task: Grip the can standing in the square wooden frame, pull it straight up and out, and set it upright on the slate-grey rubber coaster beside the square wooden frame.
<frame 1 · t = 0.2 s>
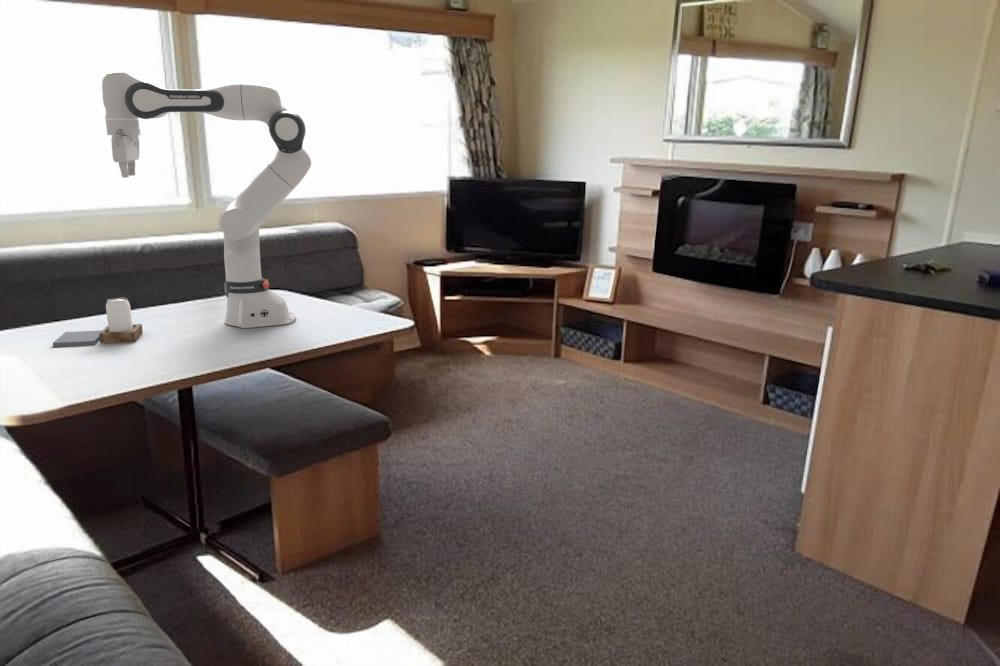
hand: (128, 176, 224), 47 cm above the table, fingers open, 8 cm apart
coaster: (80, 340, 220), on the table
square wooden frame: (122, 338, 223), on the table
can: (122, 338, 223), resting in square wooden frame
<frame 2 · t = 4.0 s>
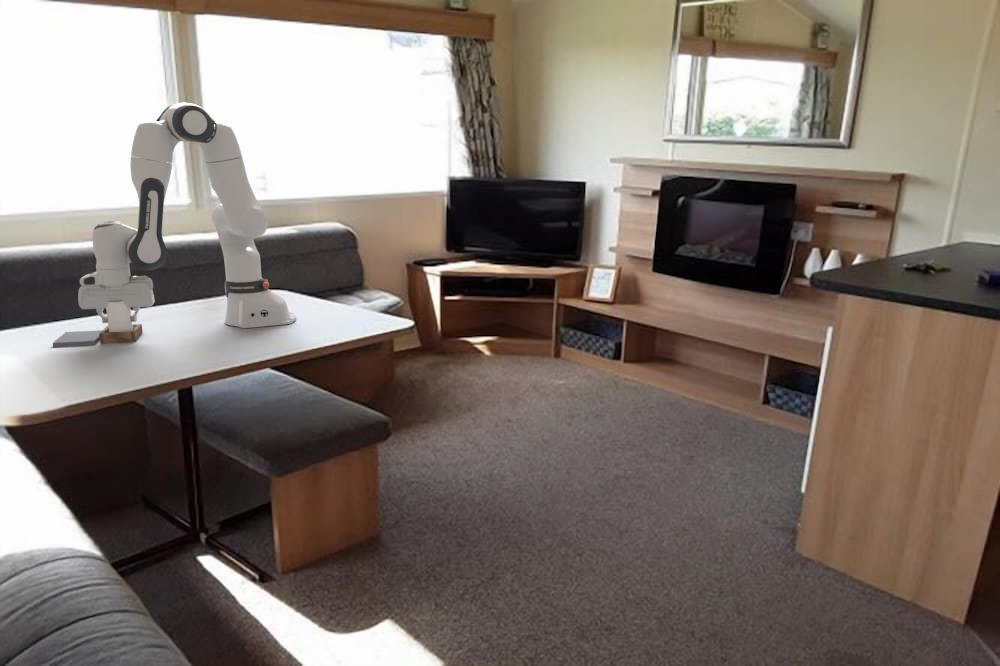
hand: (119, 321, 221), 5 cm above the table, fingers closed on can, 6 cm apart
can: (122, 338, 223), resting in square wooden frame, touching gripper
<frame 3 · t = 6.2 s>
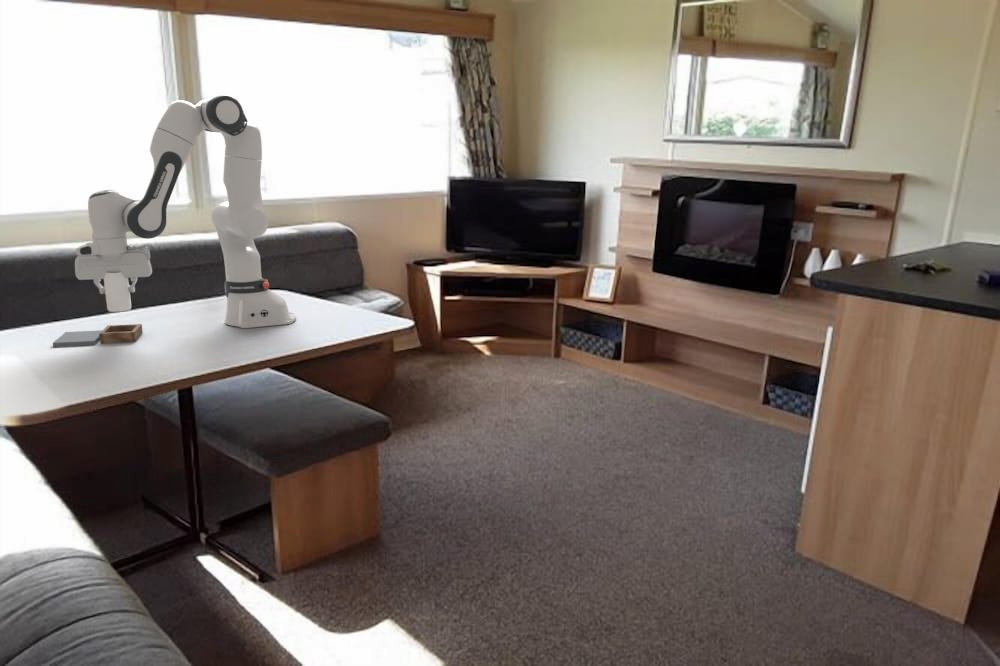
hand: (117, 292, 219), 14 cm above the table, fingers closed on can, 6 cm apart
can: (119, 310, 221), point 9 cm above the table, touching gripper
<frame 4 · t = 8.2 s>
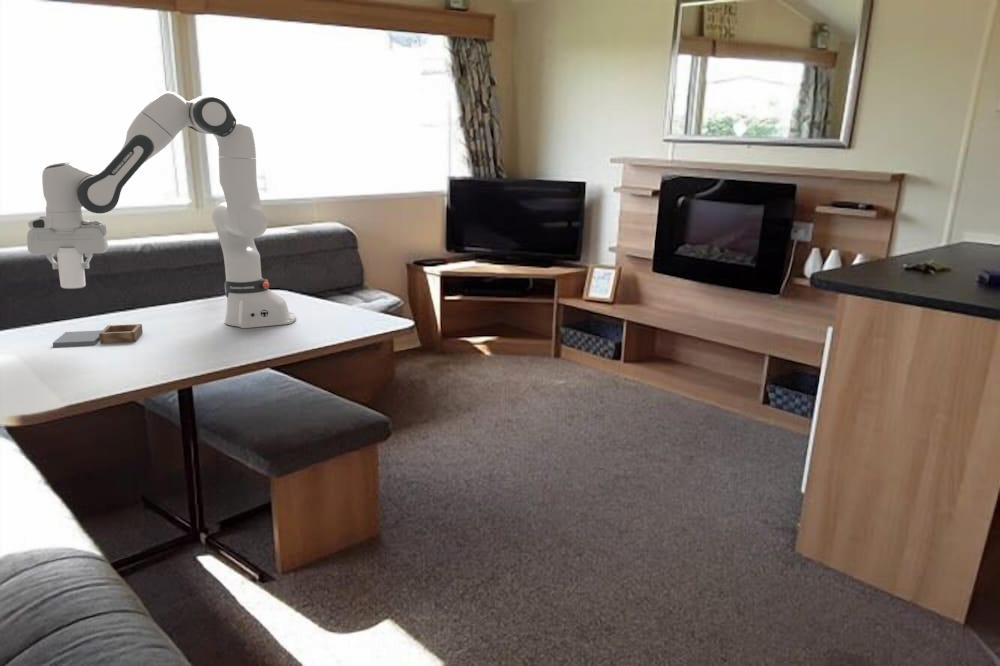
hand: (71, 268, 214), 22 cm above the table, fingers closed on can, 6 cm apart
can: (73, 287, 216), point 16 cm above the table, touching gripper
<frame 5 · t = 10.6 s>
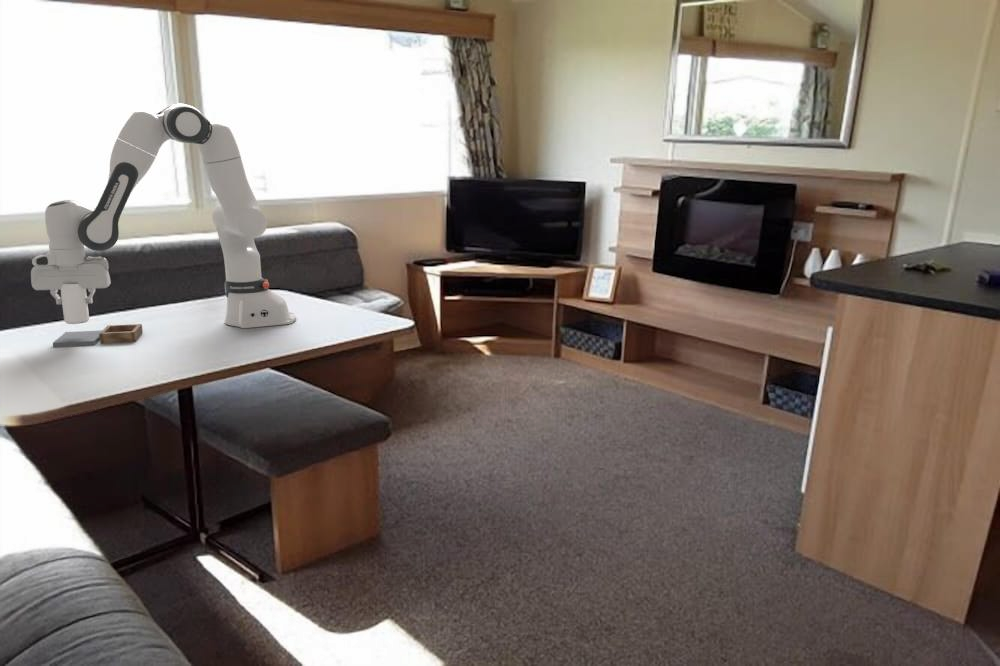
hand: (74, 303, 217), 11 cm above the table, fingers closed on can, 6 cm apart
can: (77, 322, 218), point 6 cm above the table, touching gripper
when the fingers open (7 cm above the table, at t = 12.7 s): can stays where it is, resting on coaster.
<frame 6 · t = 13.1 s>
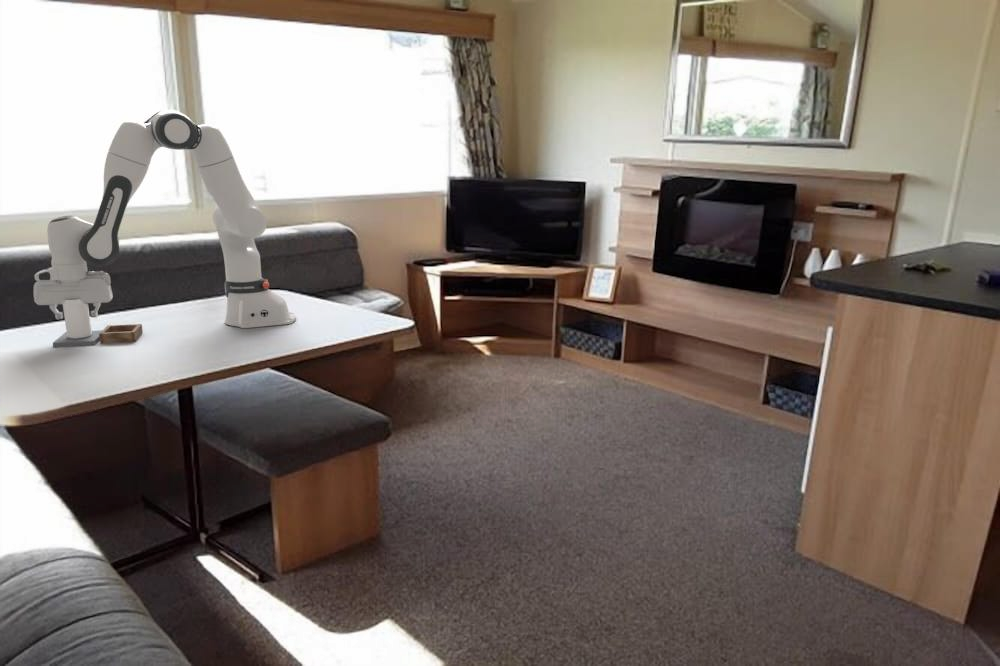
hand: (77, 317, 218), 7 cm above the table, fingers open, 8 cm apart
can: (80, 337, 220), point 1 cm above the table, touching coaster
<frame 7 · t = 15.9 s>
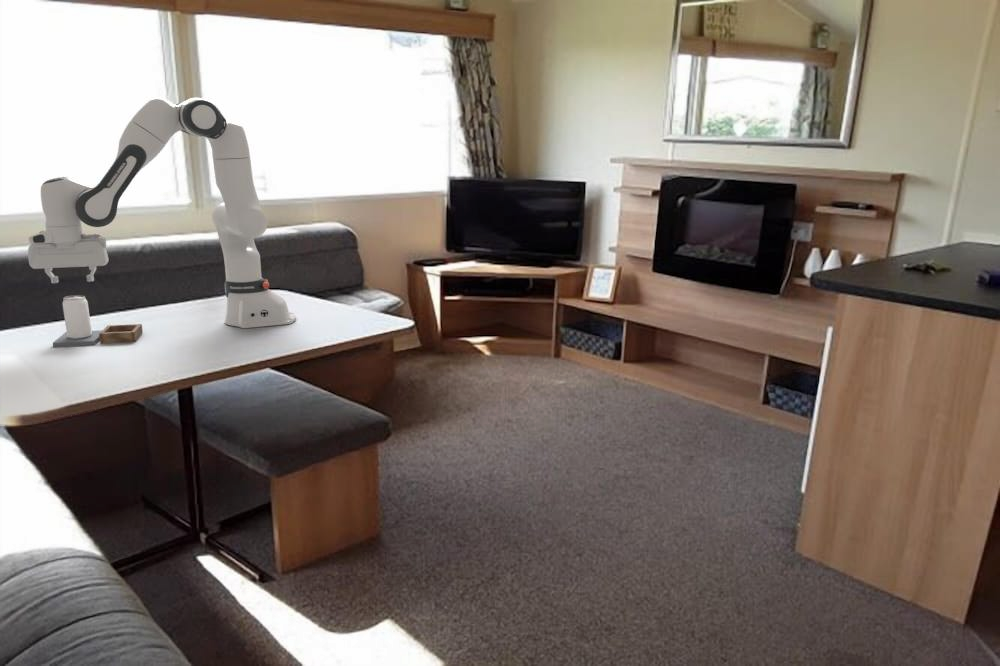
hand: (73, 282, 215), 18 cm above the table, fingers open, 8 cm apart
nothing on the table moved.
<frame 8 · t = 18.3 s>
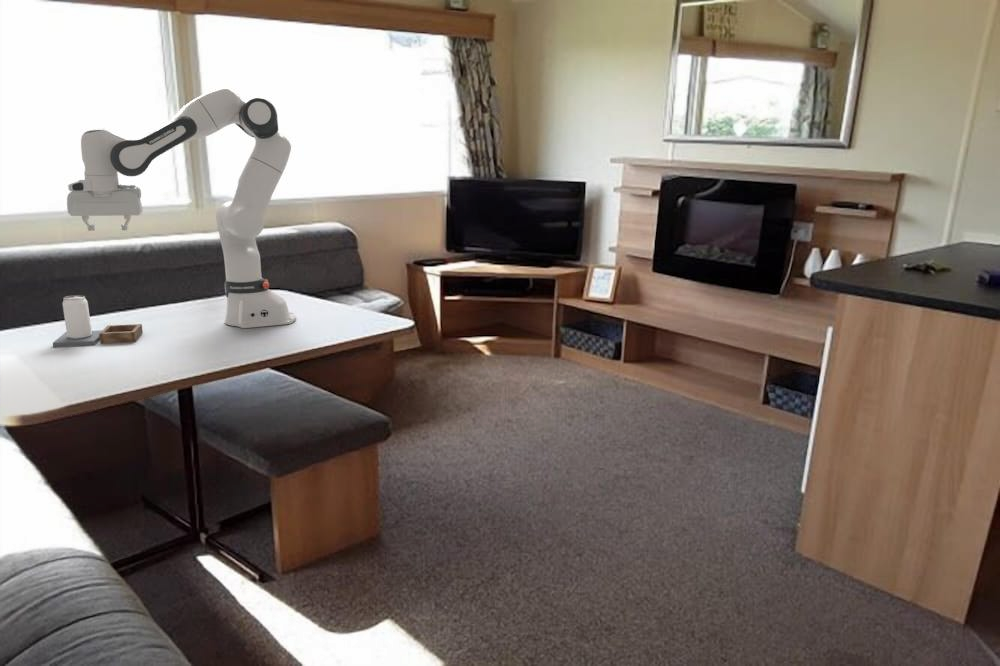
hand: (108, 230, 225), 31 cm above the table, fingers open, 8 cm apart
nothing on the table moved.
at the end: can inside the target area on the coaster (0.1 cm from its centre), point 1.0 cm above the coaster's base; can tilted 0°; the gripper is holding nothing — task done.
